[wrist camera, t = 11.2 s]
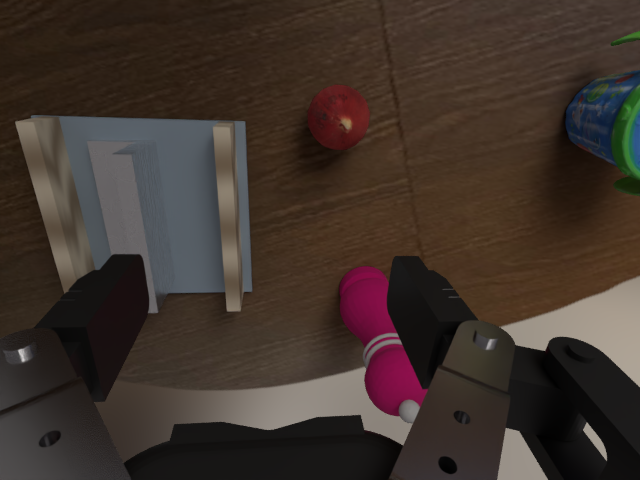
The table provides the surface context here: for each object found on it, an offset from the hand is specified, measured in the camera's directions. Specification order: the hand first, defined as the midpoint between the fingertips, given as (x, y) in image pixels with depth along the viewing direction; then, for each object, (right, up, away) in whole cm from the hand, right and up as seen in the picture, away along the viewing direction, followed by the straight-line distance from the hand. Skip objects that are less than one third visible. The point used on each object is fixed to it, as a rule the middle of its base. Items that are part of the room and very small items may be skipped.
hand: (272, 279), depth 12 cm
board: (-16, +4, +29) cm, 34 cm away
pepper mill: (+7, -5, +36) cm, 37 cm away
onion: (+3, +14, +27) cm, 30 cm away
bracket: (-18, +4, +28) cm, 34 cm away
